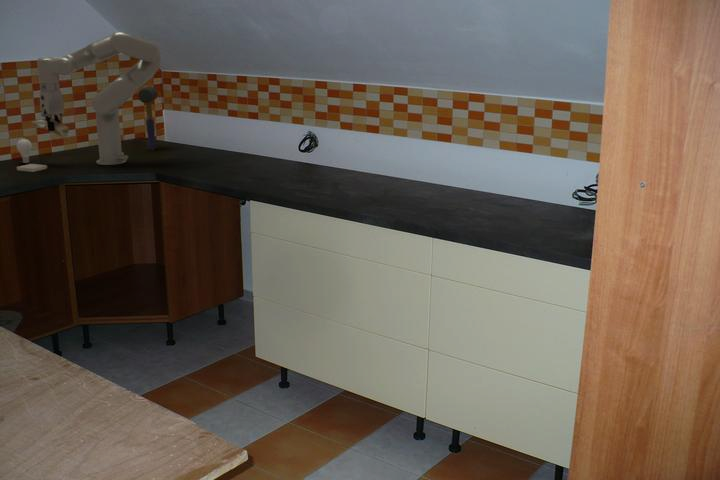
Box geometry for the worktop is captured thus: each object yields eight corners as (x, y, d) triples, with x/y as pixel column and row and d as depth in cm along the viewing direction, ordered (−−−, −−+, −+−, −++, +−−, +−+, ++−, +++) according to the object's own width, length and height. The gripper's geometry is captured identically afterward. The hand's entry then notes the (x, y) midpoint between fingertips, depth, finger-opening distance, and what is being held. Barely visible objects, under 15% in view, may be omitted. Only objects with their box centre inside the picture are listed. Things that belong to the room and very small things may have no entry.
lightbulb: (27, 161, 364) (24, 137, 361) (37, 162, 361) (34, 138, 358) (15, 163, 359) (12, 139, 356) (24, 165, 356) (21, 140, 353)
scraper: (69, 135, 354) (71, 127, 352) (60, 137, 349) (61, 129, 347) (41, 120, 358) (42, 112, 356) (31, 122, 352) (32, 114, 351)
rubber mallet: (147, 147, 399) (142, 85, 391) (162, 147, 399) (158, 85, 391) (141, 151, 387) (136, 88, 379) (157, 151, 387) (152, 87, 379)
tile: (46, 165, 349) (31, 163, 352) (32, 168, 342) (16, 166, 345) (47, 169, 349) (31, 167, 353) (32, 172, 342) (17, 171, 346)
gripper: (42, 89, 339) (48, 133, 344) (69, 85, 353) (74, 127, 358) (28, 88, 341) (34, 132, 346) (55, 85, 356) (60, 127, 361)
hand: (54, 129), depth 352 cm, fingers closed on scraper, 3 cm apart
